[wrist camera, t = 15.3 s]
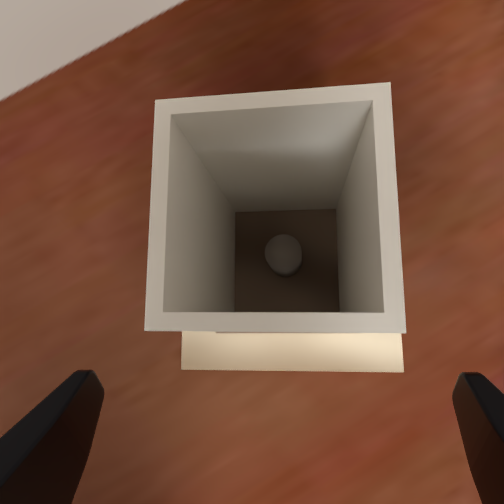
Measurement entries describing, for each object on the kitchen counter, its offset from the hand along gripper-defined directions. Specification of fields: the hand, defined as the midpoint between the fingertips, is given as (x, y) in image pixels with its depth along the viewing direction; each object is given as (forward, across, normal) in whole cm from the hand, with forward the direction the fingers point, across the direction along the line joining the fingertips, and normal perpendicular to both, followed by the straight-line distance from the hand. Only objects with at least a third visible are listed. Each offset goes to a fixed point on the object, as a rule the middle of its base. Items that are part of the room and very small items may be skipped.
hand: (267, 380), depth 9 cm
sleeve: (+11, 0, +5) cm, 12 cm away
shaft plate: (+12, 0, +5) cm, 13 cm away
